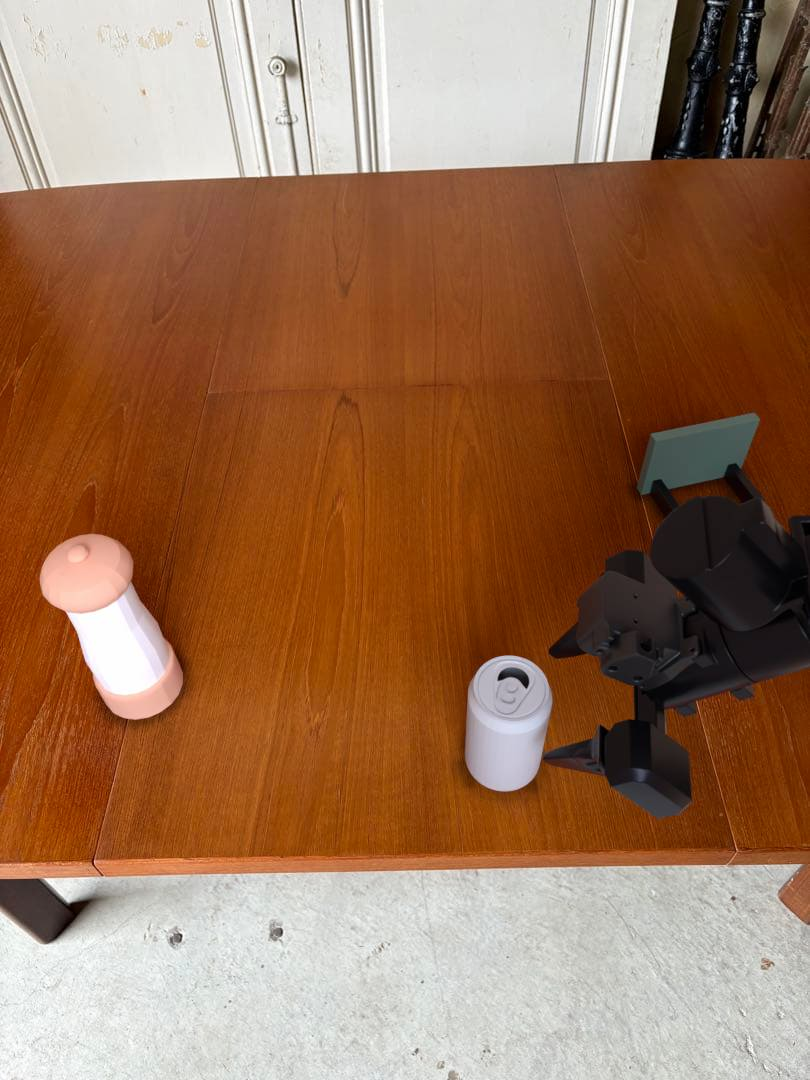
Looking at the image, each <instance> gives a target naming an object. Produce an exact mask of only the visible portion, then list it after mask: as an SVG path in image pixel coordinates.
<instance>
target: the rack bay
mask: <svg viewBox="0 0 810 1080" xmlns="http://www.w3.org/2000/svg"><path fill="white" fill-rule="evenodd" d="M760 421H761V418H760V417H759V416H758V415H757V414H756V412H750V413H746V414H740V415H737V416H731V417H726V418H721V419H716V420H712V421H707V422H702V423H697V424H691V425H687V426H681V427H676V428H671V429H667V430H662V431H659V432H658V431H657V432H652V433H650V435H649V439H648V442H647V447H646V450H645V455H644V459H643V462H642V467H641V470H640V474H639V477H638V481H637V484H636V485H637V486H636V489H637V490H638V493H640V496H643V495H648V494H650V496H651V498H652V499H653V501H654V502H655V504H656V505H657V507H658V509H659V510H660V512H661V513H662V514H663V517H664V518H666V517H667V516H668V515H669V514H670V513H671V512H672V511H673V510H674V509H676V508H677V507H678V506H679V505H680V504H679V503H678V501H677V500H676V498H675V497H674V495H673V494H672V493H671V491H670V490H671V489H677V488H680V487H686V486H691V485H694V484H699V483H703V482H704V483H705V482H708V481H709V482H710V481H713V480H717V479H723V480H725V481H726V483H727V484H728V485H729V487H730V489H732V491H733V492H734V494H735V495H736V496H737V498H738V499H739V501H740V502H741V504H743V503H745V502H747V501H749V500H752V499H754V498H761V499H762V500H763V501H764V502H765V498H764V496H762V494H761V493H760V492H759V490H758V489H757V488H756V487H755V485H754V484H753V483H752V480H750V479H749V477H748V476H747V475H746V473H744V471H743V470H742V469H743V466H744V462H745V460H746V458H747V455H748V453H749V450H750V447H751V444H752V443H753V439H754V437H755V434H756V433H757V429H758V427H759V424H760Z"/></svg>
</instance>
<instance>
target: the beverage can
mask: <svg viewBox="0 0 810 1080" xmlns="http://www.w3.org/2000/svg"><path fill="white" fill-rule="evenodd" d="M466 702H467V705H466V722H465V726H466V727H465V741H464V761H465V763H466V767H467V769H468V771H469V773H470V774H471V776H472V777H473V778H474V780H475V781H477V782H478V783H479V784H480V785H482V786H484V787H485V788H487V789H490V790H493V791H496V792H513V791H517V790H519V789H522V788H524V787H525V786H527V785H528V784H530V783H531V782H532V781H533V779H535V777H536V775H537V773H538V772H539V770H540V769H539V768H540V766H541V765H540V764H541V760H542V757H543V752H544V745H545V741H546V736H547V731H548V727H549V721H550V717H551V711H552V708H553V693H552V689H551V686H550V684H549V682H548V679H547V676H546V674H545V673H544V672H543V670H542V669H541V668H540V667H539V666H538V665H536V664H535V663H534V662H533V661H530V660H529V659H527V658H524V657H521V656H518V655H517V656H516V655H500V656H496V657H494V658H491V659H489V660H487V661H486V662H484V663H483V664H482V665H481V666H480V667H479V669H478V670H477V671H476V673H475V674H474V675H473V677H472V678H471V680H470V683H469V685H468V690H467V701H466Z"/></svg>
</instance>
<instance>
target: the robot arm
mask: <svg viewBox="0 0 810 1080" xmlns="http://www.w3.org/2000/svg"><path fill="white" fill-rule="evenodd" d="M787 525H788V529H789V532H788V531H787V530H786V528H785V527H784V526H783V525H781V523H780V522H779V521H778V520H777V519H776V516H775V515H774V512H773V510H772V508H771V507H770V506H769V505H768V504H767V503H766V502H765V500H764V501H763V500H762V499H761V498H754V499H752V500H749V501H747V502H745V503H741V504H738V503H737V502H736V501H735V500H733V499H732V498H730V497H728V496H724V495H713V494H712V495H706V496H701V495H697V496H694V497H692V498H690V499H687V500H686V501H684V502H682V503H681V504H679V506H678V507H677V508H676V509H674V510H673V511H672V512H671V513H670V514H669V515H668V516H667V517H664V519H663V520H662V521H661V523H660V524H659V526H658V528H657V529H656V531H655V533H654V535H653V537H652V539H651V544H650V548H649V555H648V554H647V553H646V552H644V551H642V550H637V549H629V548H628V549H624V550H622V551H620V552H617V553H615V554H613V555H611V556H609V557H607V558H604V572H603V571H602V572H601V573H600V574H599V577H598V579H596V580H595V582H592V584H591V585H590V586H589V587H588V588H587V589H586V590H584V591H583V592H582V593H581V594H580V595H579V596H578V597H577V599H576V608H578V610H577V613H578V614H577V621H576V622H575V623H574V624H573V625H572V626H571V627H570V628H569V629H568V630H567V631H566V632H564V633H563V634H562V635H561V636H560V637H559V638H558V639H557V640H556V641H555V642H554V643H553V644H552V645H551V646H549V648H548V654H549V655H550V656H551V657H552V658H554V659H555V660H561V659H568V658H575V657H579V656H585V655H589V656H591V657H594V658H595V657H598V659H599V665H600V666H599V667H600V668H599V669H600V673H601V674H602V675H603V676H605V677H608V678H609V679H612V680H615V681H617V682H620V683H623V684H625V685H628V686H633V715H634V716H633V718H634V719H632V718H628V719H624V720H621V721H618V722H615V723H614V724H613V725H612V727H610V729H607V727H605V726H603V725H602V724H598V726H597V729H596V732H595V734H594V736H593V737H591V738H588V739H585V740H581V741H578V742H577V741H576V742H574V743H571V744H566V745H563V746H559V747H556V748H554V749H551V750H550V751H547V752H545V753H542V756H541V760H542V761H543V762H544V763H546V764H548V766H551V767H556V768H561V769H566V770H572V771H577V772H580V773H581V772H582V773H587V774H589V775H590V774H591V775H596V776H600V777H605V778H606V781H607V783H608V785H609V787H610V788H612V789H613V790H615V791H616V792H617V793H619V794H620V795H622V796H623V797H625V798H627V800H629V801H631V802H632V803H633V804H635V805H636V806H638V807H639V808H641V809H642V810H644V811H646V813H648V814H650V815H651V816H653V817H654V818H656V819H662V818H663V819H664V818H668V817H673V816H678V815H680V814H682V813H683V812H685V811H686V810H688V808H689V807H690V805H691V803H692V801H693V793H692V778H691V777H692V776H691V765H690V751H689V750H687V749H686V748H685V747H683V746H682V745H681V744H680V743H678V742H677V741H676V740H674V739H673V738H672V737H670V736H669V735H668V734H667V732H668V731H667V716H666V715H667V714H666V711H669V710H672V709H673V710H674V711H675V712H677V714H679V715H680V716H682V717H683V718H686V717H688V716H693V715H695V714H698V710H697V702H699V701H702V700H705V699H709V698H712V697H716V696H719V695H722V694H725V693H728V692H729V693H730V694H731V695H732V696H734V697H735V698H736V699H737V700H739V701H740V702H741V701H744V700H748V699H751V698H755V691H754V685H755V684H759V683H762V682H765V681H769V680H773V679H777V678H779V677H782V676H785V675H789V674H792V673H796V672H799V671H803V670H805V669H809V668H810V515H808V514H807V515H804V514H803V515H802V514H801V515H799V514H797V515H796V514H795V515H791V516H790V517H788V518H787ZM678 591H679V593H681V595H682V596H679V595H678ZM678 596H679V597H678Z"/></svg>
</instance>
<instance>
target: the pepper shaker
mask: <svg viewBox="0 0 810 1080" xmlns="http://www.w3.org/2000/svg"><path fill="white" fill-rule="evenodd" d="M133 574H134V560H133V557H132V554H131V552H130V551H129V550H128V549H127V548H126V547H125V546H124V544H122V543H121V542H120V541H119V540H118V539H115V538H112V537H110V536H107V535H104V534H98V533H97V534H96V533H87V534H80V535H77V536H74V537H71V538H68V539H66V540H65V541H63V542H61V543H60V544H58V545H57V546H55V548H54V549H52V551H51V552H50V553H48V554H47V557H46V558H45V560H44V562H43V564H42V566H41V568H40V574H39V585H40V590H41V593H42V596H43V598H45V600H47V602H48V603H49V604H50V605H52V606H53V607H55V608H58V610H59V609H60V610H62V611H64V612H65V613H66V615H67V617H68V618H69V620H70V622H71V624H72V625H73V628H74V629H75V631H76V633H77V636H78V640H79V644H80V647H81V651H82V655H83V657H84V661H85V663H86V665H87V667H88V668H89V669H90V671H91V672H92V679H93V682H94V686H95V688H96V690H97V691H98V693H99V695H100V696H101V698H102V700H103V701H104V703H105V705H106V706H107V707H108V709H110V711H111V712H112V713H113V714H115V715H116V716H118V717H121V718H123V719H126V720H127V719H128V720H136V721H137V720H142V719H148V718H151V717H153V716H155V715H158V714H159V713H160V714H161V713H162V712H163V711H165V710H166V709H167V708H168V707H169V706H171V705H172V704H173V703H174V701H176V699H177V698H178V696H179V695H180V693H181V690H182V687H183V685H184V672H183V670H182V667H181V665H180V661H179V660H178V657H177V655H176V653H175V651H174V648H173V645H172V644H171V643H170V642H169V641H168V640H167V639H166V638H165V637H164V636H163V632H162V631H161V628H160V626H159V623H158V621H157V620H156V619H155V617H154V616H153V615H152V614H151V612H150V611H149V610H148V609H147V607H146V606H145V605H144V604H143V602H142V601H141V600H140V597H139V595H138V593H137V591H136V588H135V587H134V585H133V582H132V579H133Z"/></svg>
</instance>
